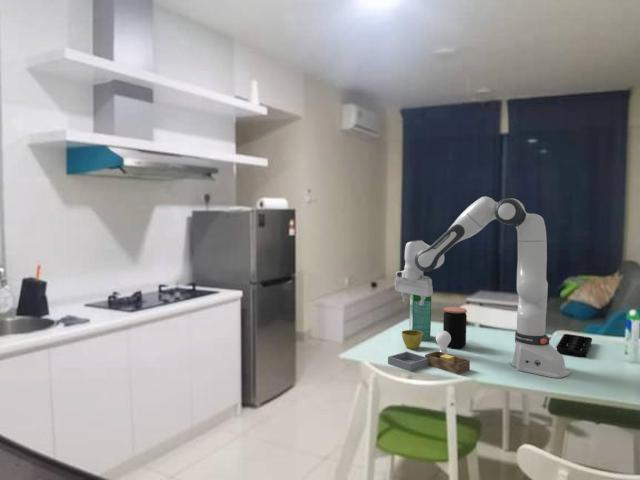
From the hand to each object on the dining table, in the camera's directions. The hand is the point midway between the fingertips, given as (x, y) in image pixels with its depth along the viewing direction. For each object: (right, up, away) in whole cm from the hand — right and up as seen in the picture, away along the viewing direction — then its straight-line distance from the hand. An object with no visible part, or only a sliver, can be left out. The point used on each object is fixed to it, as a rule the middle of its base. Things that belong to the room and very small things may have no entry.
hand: (413, 303), depth 224 cm
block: (+9, -23, -28) cm, 37 cm away
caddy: (+9, -23, -28) cm, 37 cm away
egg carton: (+77, -22, +2) cm, 81 cm away
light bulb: (+12, -22, -10) cm, 27 cm away
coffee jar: (+21, -21, +4) cm, 30 cm away
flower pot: (0, -21, +1) cm, 21 cm away
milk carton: (+7, -20, +19) cm, 29 cm away
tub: (-7, -23, -25) cm, 34 cm away
